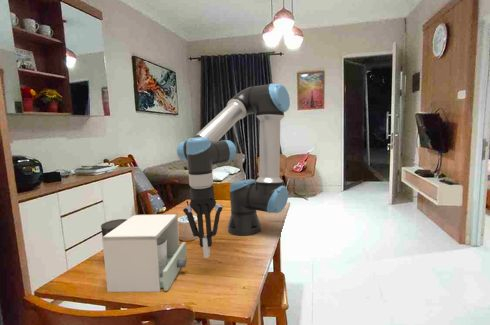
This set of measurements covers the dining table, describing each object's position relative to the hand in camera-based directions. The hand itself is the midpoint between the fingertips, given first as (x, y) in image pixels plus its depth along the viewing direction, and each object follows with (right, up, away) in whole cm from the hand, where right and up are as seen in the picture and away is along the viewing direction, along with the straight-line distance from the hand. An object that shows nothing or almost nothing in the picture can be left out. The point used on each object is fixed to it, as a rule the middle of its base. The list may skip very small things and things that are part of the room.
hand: (206, 255), depth 101 cm
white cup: (-17, -5, +1) cm, 18 cm away
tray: (-16, -6, +1) cm, 18 cm away
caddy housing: (-20, -6, +2) cm, 21 cm away
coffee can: (-34, -6, +13) cm, 37 cm away
